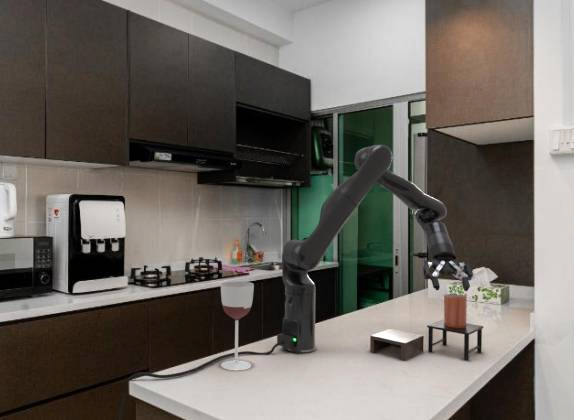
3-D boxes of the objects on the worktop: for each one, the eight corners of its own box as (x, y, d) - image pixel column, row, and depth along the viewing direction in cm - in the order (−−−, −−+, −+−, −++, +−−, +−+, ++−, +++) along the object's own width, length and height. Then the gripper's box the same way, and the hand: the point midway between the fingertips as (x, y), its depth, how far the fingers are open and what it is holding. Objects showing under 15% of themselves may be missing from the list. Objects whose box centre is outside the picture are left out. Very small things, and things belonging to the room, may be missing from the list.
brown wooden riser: (404, 360, 134) (405, 343, 134) (370, 352, 142) (370, 335, 142) (423, 352, 143) (423, 335, 143) (389, 344, 151) (389, 328, 151)
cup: (461, 329, 139) (462, 298, 139) (440, 325, 143) (440, 295, 143) (469, 325, 143) (470, 295, 143) (448, 322, 148) (449, 293, 148)
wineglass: (257, 362, 131) (259, 283, 131) (243, 373, 122) (244, 288, 122) (229, 357, 135) (230, 280, 135) (213, 368, 126) (214, 285, 126)
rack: (468, 361, 135) (468, 333, 135) (426, 351, 143) (427, 325, 143) (483, 352, 143) (483, 326, 143) (442, 344, 152) (443, 319, 152)
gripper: (421, 241, 155) (431, 281, 144) (466, 241, 154) (480, 282, 143) (416, 255, 161) (425, 295, 149) (460, 256, 159) (473, 297, 148)
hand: (452, 289), depth 146 cm, fingers open, 8 cm apart
